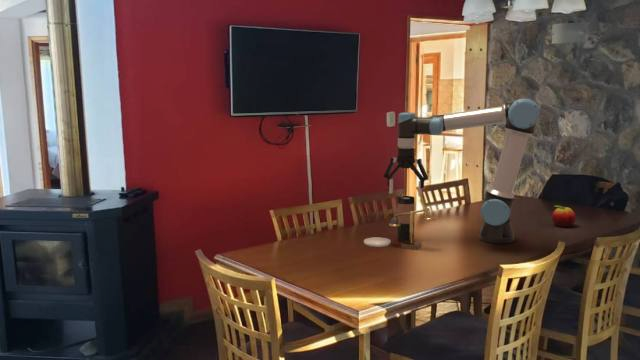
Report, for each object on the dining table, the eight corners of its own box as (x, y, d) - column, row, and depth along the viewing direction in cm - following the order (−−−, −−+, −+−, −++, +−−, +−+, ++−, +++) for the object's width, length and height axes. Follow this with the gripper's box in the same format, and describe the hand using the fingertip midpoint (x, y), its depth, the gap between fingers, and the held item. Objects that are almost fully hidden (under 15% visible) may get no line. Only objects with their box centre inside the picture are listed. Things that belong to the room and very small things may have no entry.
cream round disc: (394, 241, 257) (394, 238, 257) (384, 248, 247) (384, 245, 247) (369, 238, 263) (369, 236, 263) (359, 245, 252) (359, 242, 252)
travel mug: (413, 242, 254) (414, 199, 251) (396, 242, 256) (396, 198, 253) (414, 238, 262) (414, 195, 259) (397, 237, 263) (398, 195, 260)
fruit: (568, 229, 273) (569, 209, 271) (547, 226, 281) (548, 206, 280) (579, 225, 280) (580, 206, 278) (557, 222, 288) (558, 203, 287)
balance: (436, 248, 245) (436, 207, 243) (432, 251, 240) (432, 210, 237) (391, 243, 255) (391, 203, 252) (386, 246, 249) (387, 206, 247)
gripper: (436, 147, 250) (434, 195, 253) (383, 145, 261) (382, 190, 265) (431, 149, 243) (430, 197, 247) (376, 147, 255) (376, 193, 258)
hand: (405, 194), depth 256 cm, fingers open, 13 cm apart
